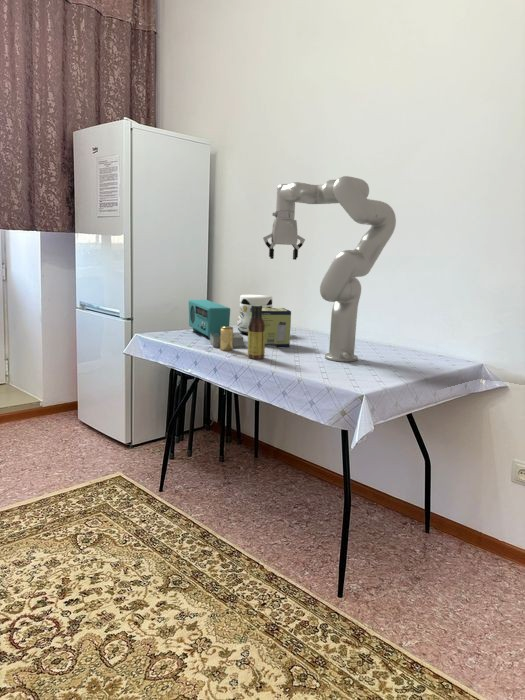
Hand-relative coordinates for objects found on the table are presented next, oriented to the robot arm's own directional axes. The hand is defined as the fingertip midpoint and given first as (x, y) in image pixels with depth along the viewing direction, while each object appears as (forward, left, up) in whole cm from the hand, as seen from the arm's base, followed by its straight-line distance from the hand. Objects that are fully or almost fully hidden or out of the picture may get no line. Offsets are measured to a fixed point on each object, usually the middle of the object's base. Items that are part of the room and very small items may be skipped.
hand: (283, 259), depth 219 cm
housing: (-2, +23, -36) cm, 43 cm away
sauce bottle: (-24, +15, -36) cm, 46 cm away
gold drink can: (-13, +25, -36) cm, 46 cm away
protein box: (+2, +4, -37) cm, 37 cm away
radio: (+25, +28, -37) cm, 52 cm away
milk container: (+33, +4, -36) cm, 49 cm away
